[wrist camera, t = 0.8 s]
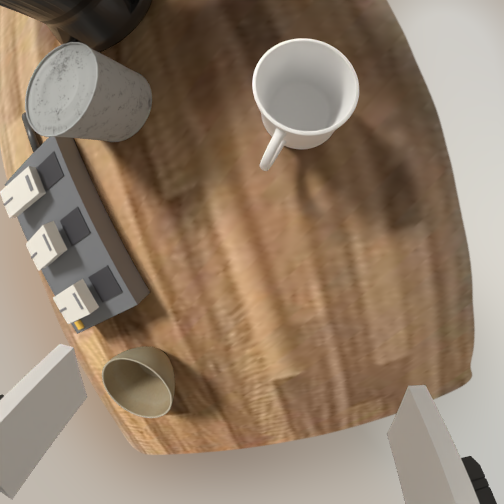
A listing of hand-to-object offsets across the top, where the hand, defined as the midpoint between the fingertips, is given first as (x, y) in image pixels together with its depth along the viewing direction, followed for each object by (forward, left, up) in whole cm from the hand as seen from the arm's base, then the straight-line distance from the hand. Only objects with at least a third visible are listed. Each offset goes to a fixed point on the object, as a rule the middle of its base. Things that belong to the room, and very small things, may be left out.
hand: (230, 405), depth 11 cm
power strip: (-17, -23, -27) cm, 39 cm away
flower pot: (+8, -23, -27) cm, 36 cm away
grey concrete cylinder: (-24, -9, -27) cm, 37 cm away
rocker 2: (-13, -24, -21) cm, 35 cm away
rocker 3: (-5, -24, -21) cm, 33 cm away
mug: (-11, +8, -27) cm, 30 cm away
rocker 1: (-21, -24, -21) cm, 38 cm away
